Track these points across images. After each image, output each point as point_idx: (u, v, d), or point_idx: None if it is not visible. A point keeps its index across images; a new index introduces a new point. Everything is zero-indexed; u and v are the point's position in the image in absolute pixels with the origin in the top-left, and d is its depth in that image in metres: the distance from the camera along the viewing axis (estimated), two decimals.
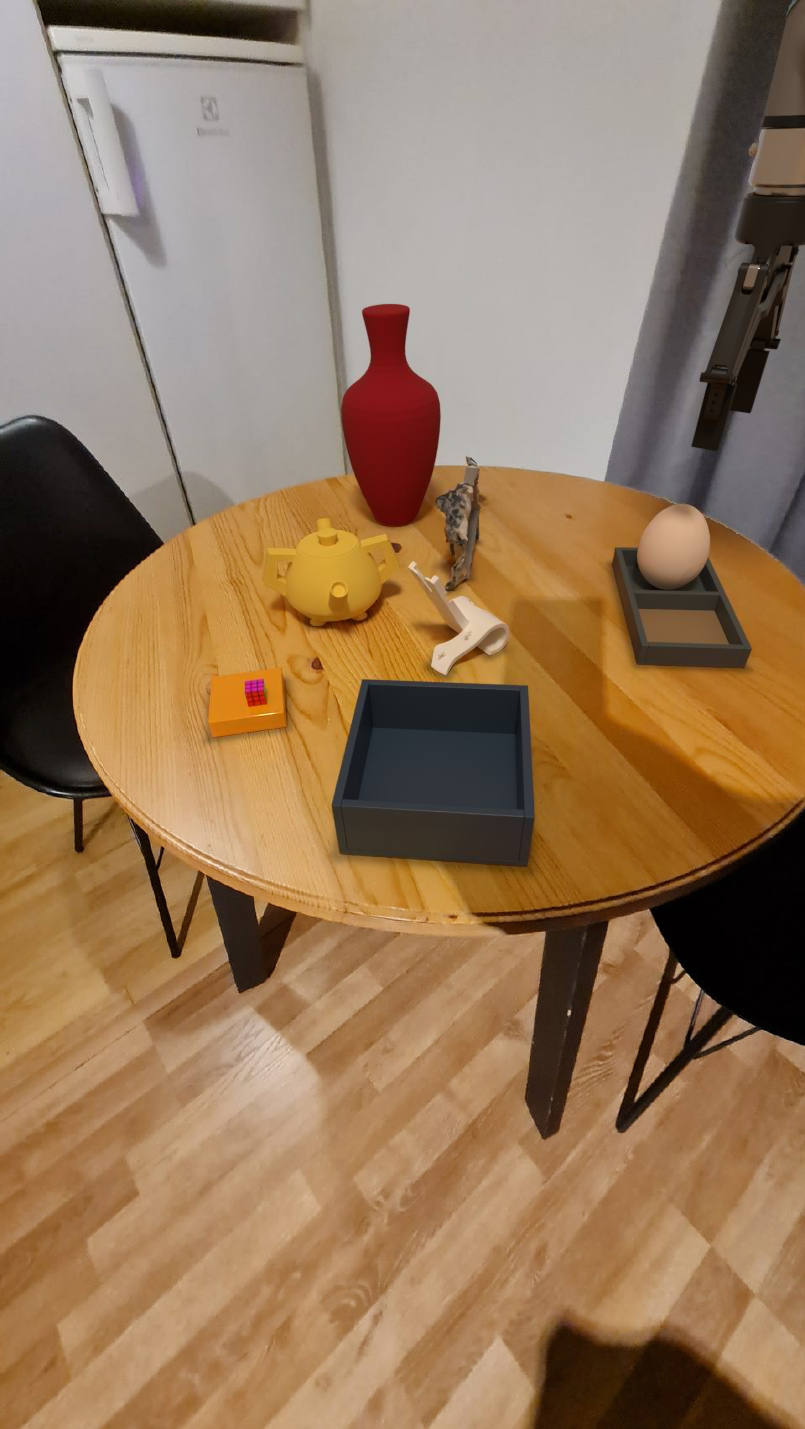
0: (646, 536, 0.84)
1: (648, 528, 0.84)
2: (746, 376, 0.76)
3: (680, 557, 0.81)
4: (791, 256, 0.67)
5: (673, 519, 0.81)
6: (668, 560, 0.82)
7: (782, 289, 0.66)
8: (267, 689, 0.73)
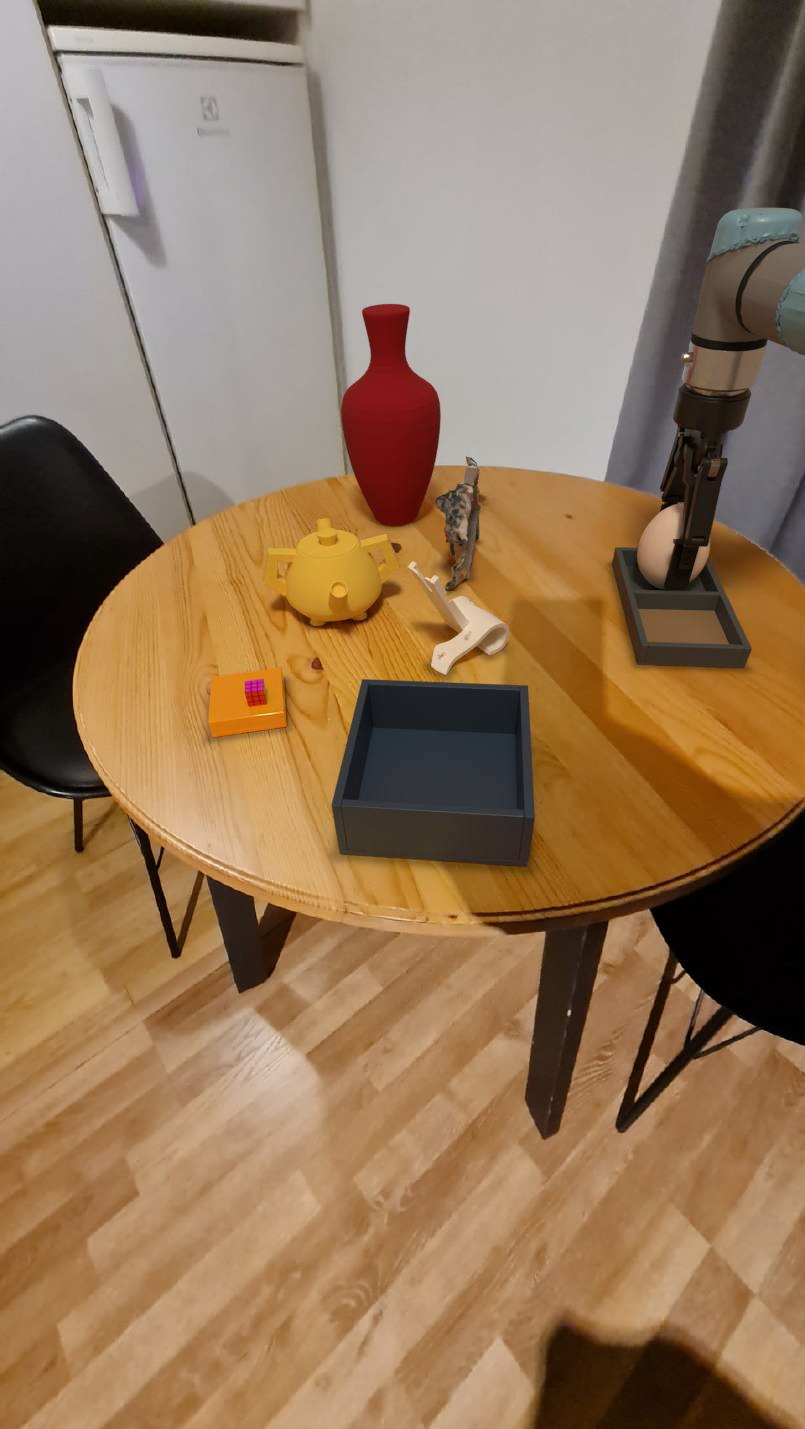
0: (646, 536, 0.84)
1: (648, 528, 0.84)
2: None
3: None
4: None
5: (673, 518, 0.81)
6: (668, 560, 0.82)
7: None
8: (267, 689, 0.73)
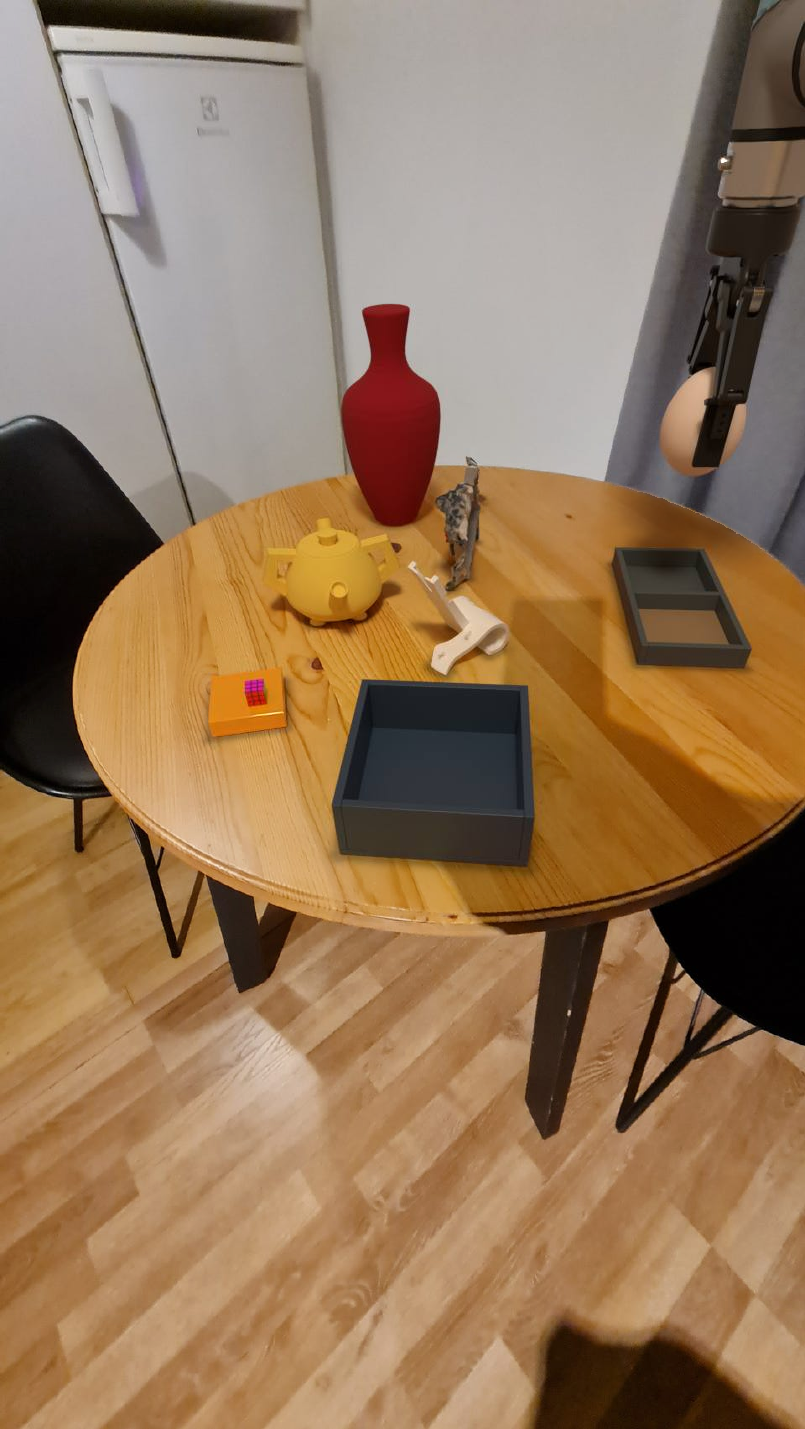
0: (671, 408, 0.72)
1: (673, 399, 0.72)
2: None
3: None
4: None
5: (704, 382, 0.69)
6: (698, 433, 0.70)
7: None
8: (267, 689, 0.73)
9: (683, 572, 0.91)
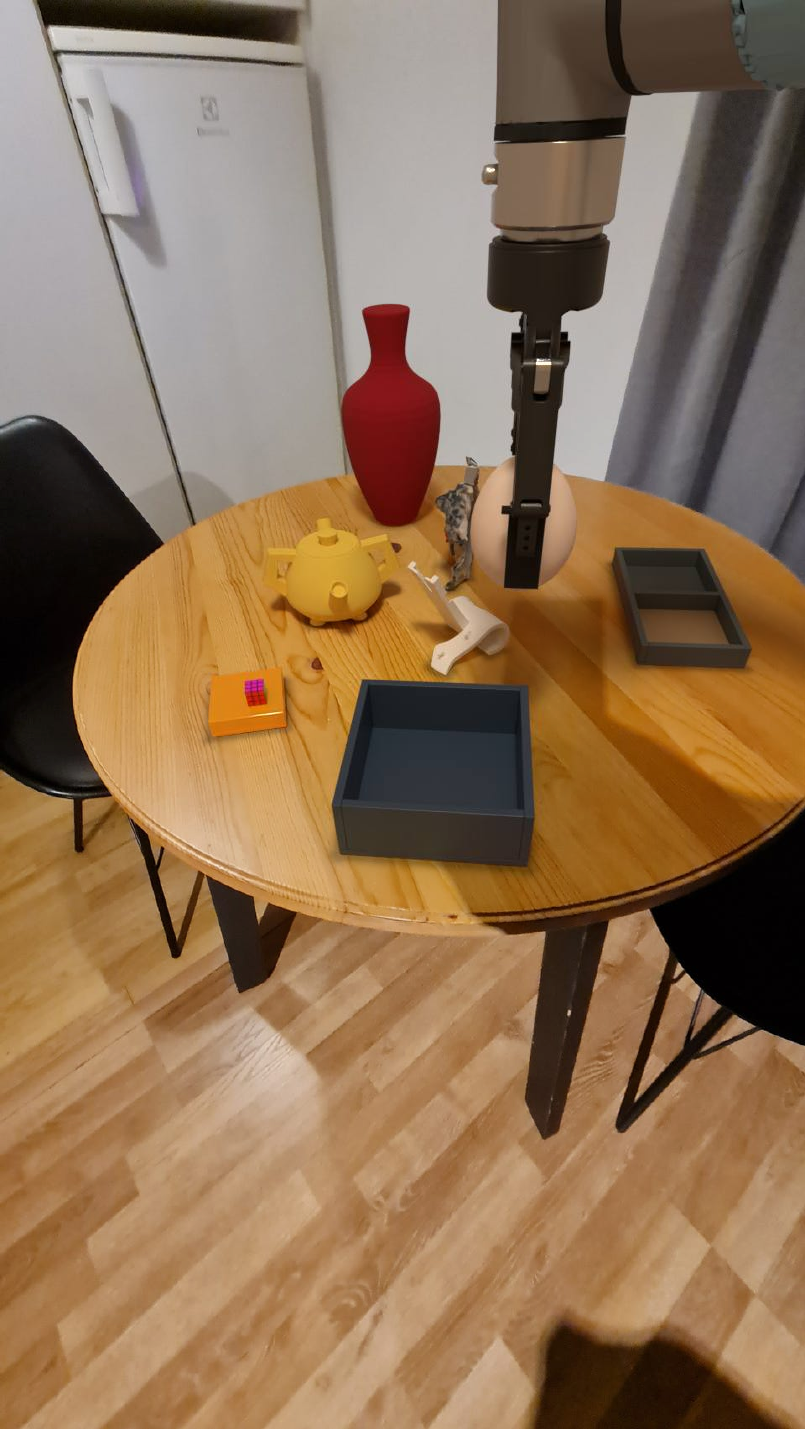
0: (475, 506, 0.53)
1: (480, 493, 0.53)
2: None
3: None
4: None
5: (510, 476, 0.50)
6: (505, 544, 0.51)
7: None
8: (267, 689, 0.73)
9: (683, 572, 0.91)
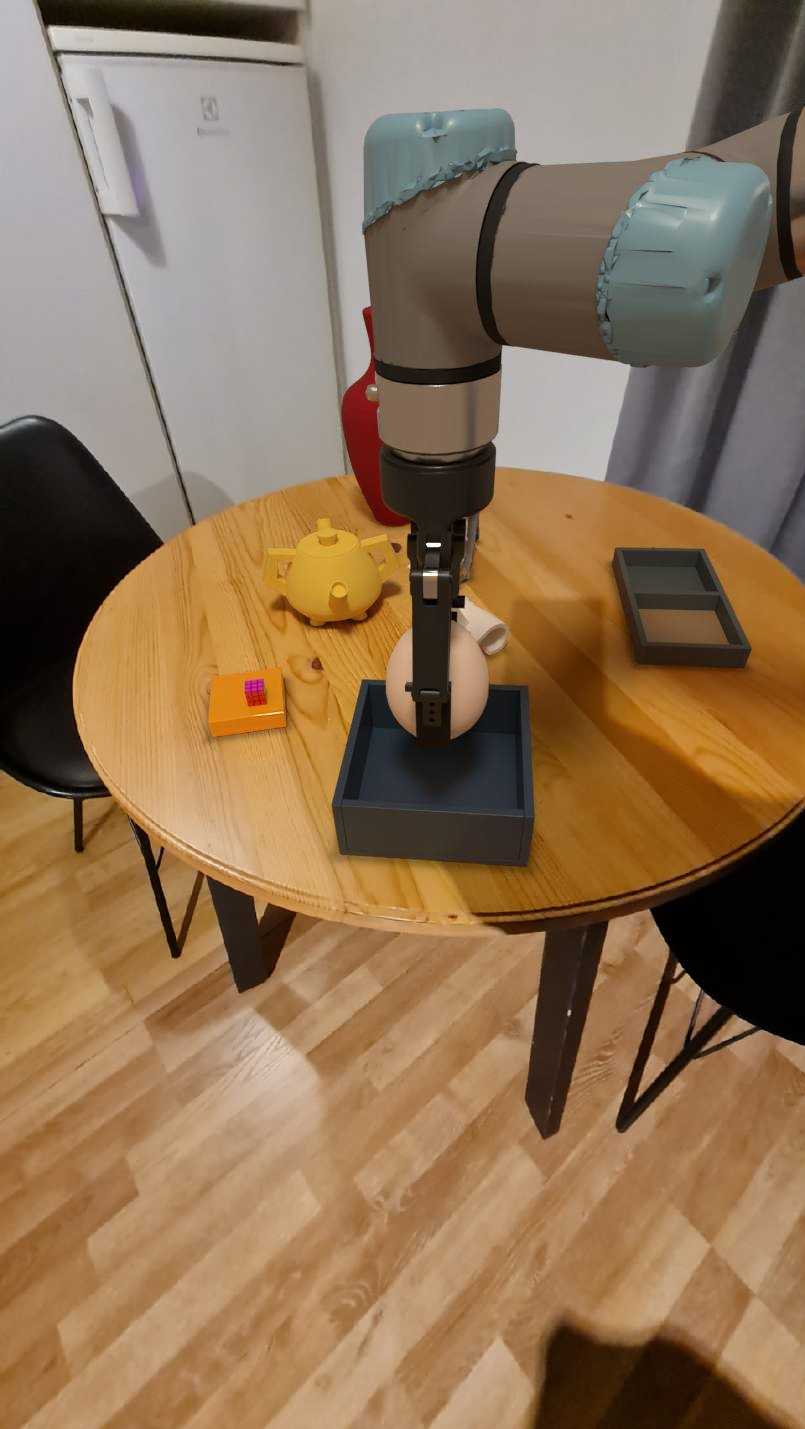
0: (388, 666, 0.53)
1: (392, 653, 0.53)
2: None
3: None
4: None
5: None
6: None
7: None
8: (267, 689, 0.73)
9: (683, 572, 0.91)
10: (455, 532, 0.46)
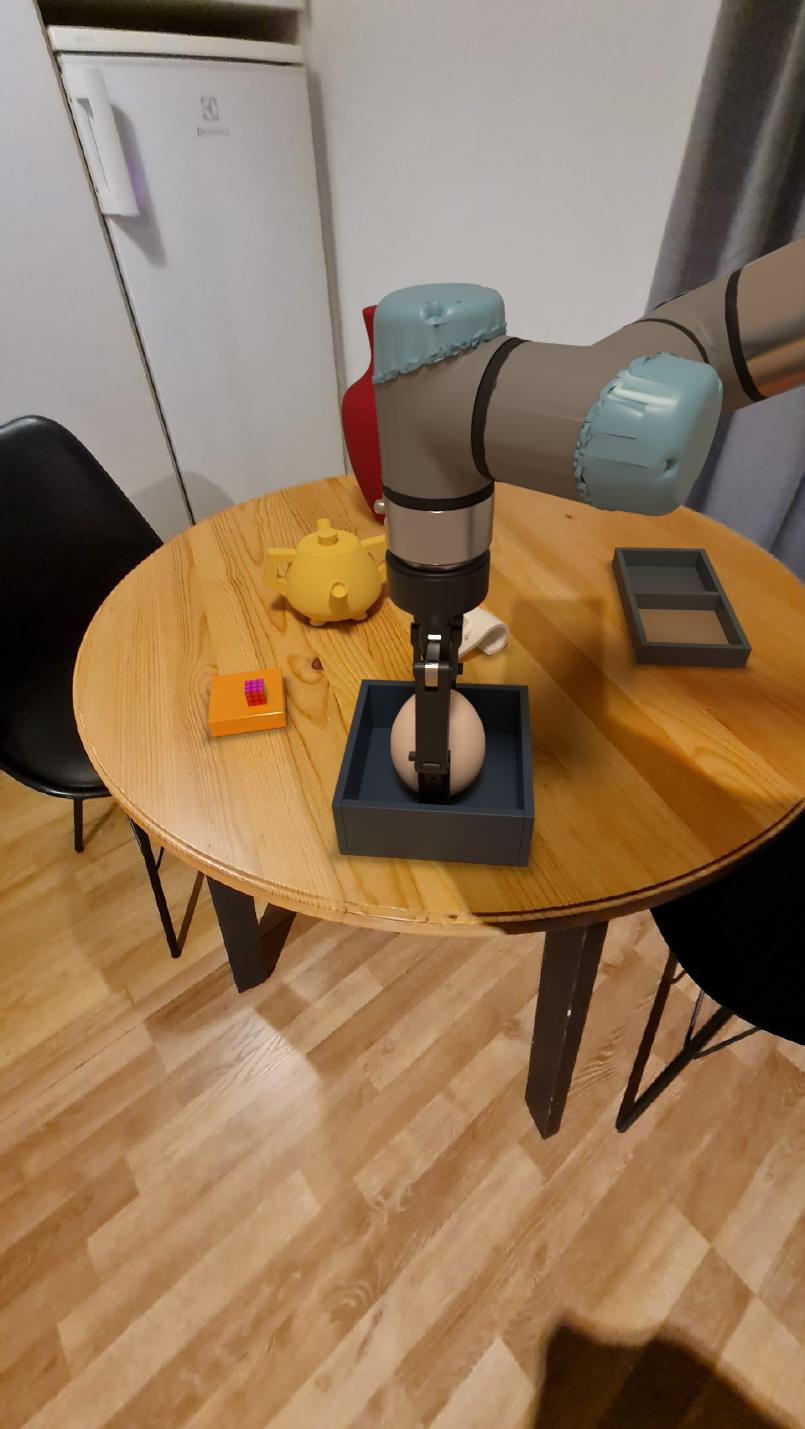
0: (393, 730, 0.58)
1: (396, 718, 0.58)
2: None
3: None
4: None
5: None
6: None
7: None
8: (267, 689, 0.73)
9: (683, 572, 0.91)
10: (454, 619, 0.51)
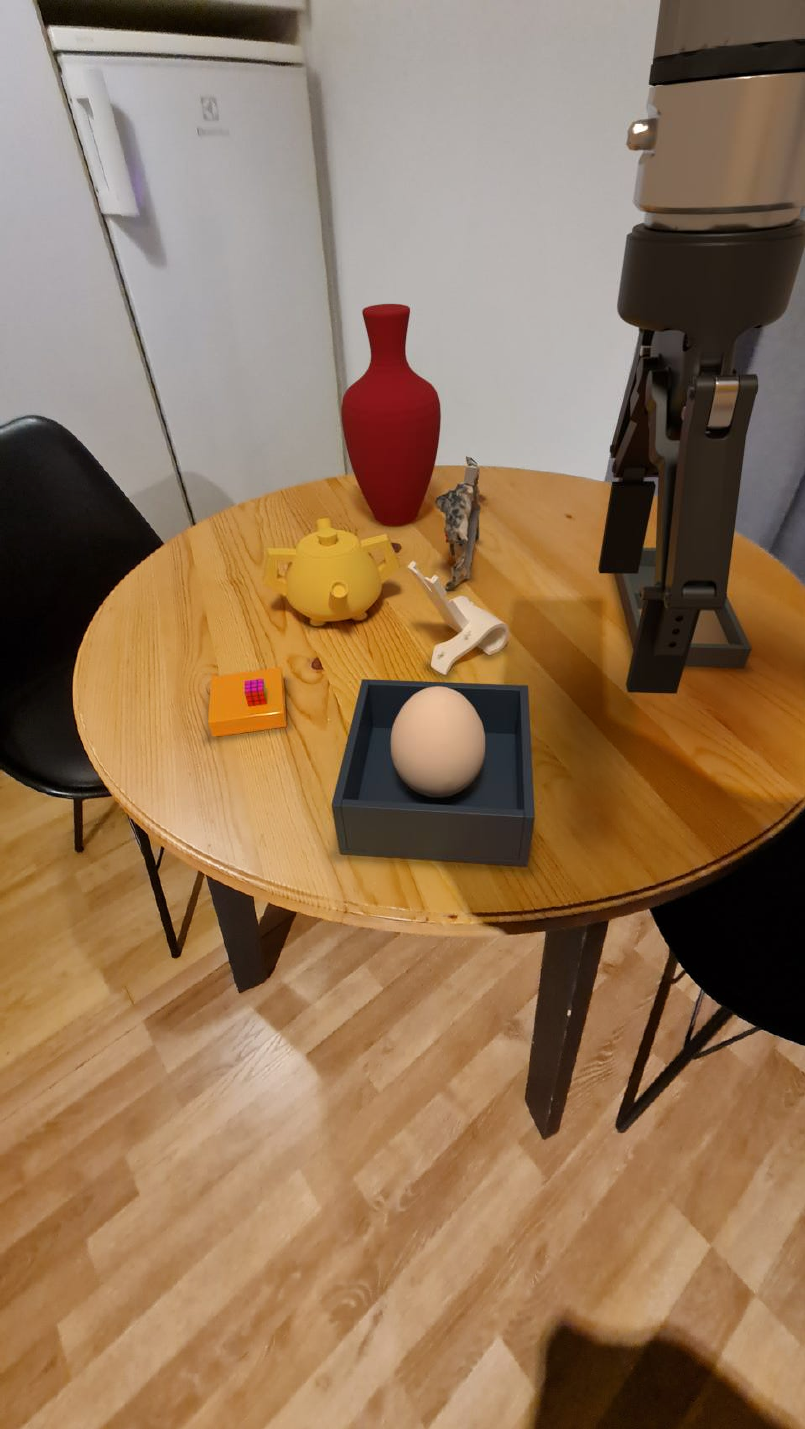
0: (393, 730, 0.58)
1: (396, 718, 0.58)
2: (625, 523, 0.45)
3: (433, 769, 0.56)
4: None
5: (419, 715, 0.55)
6: (418, 771, 0.56)
7: None
8: (267, 689, 0.73)
9: None
10: None
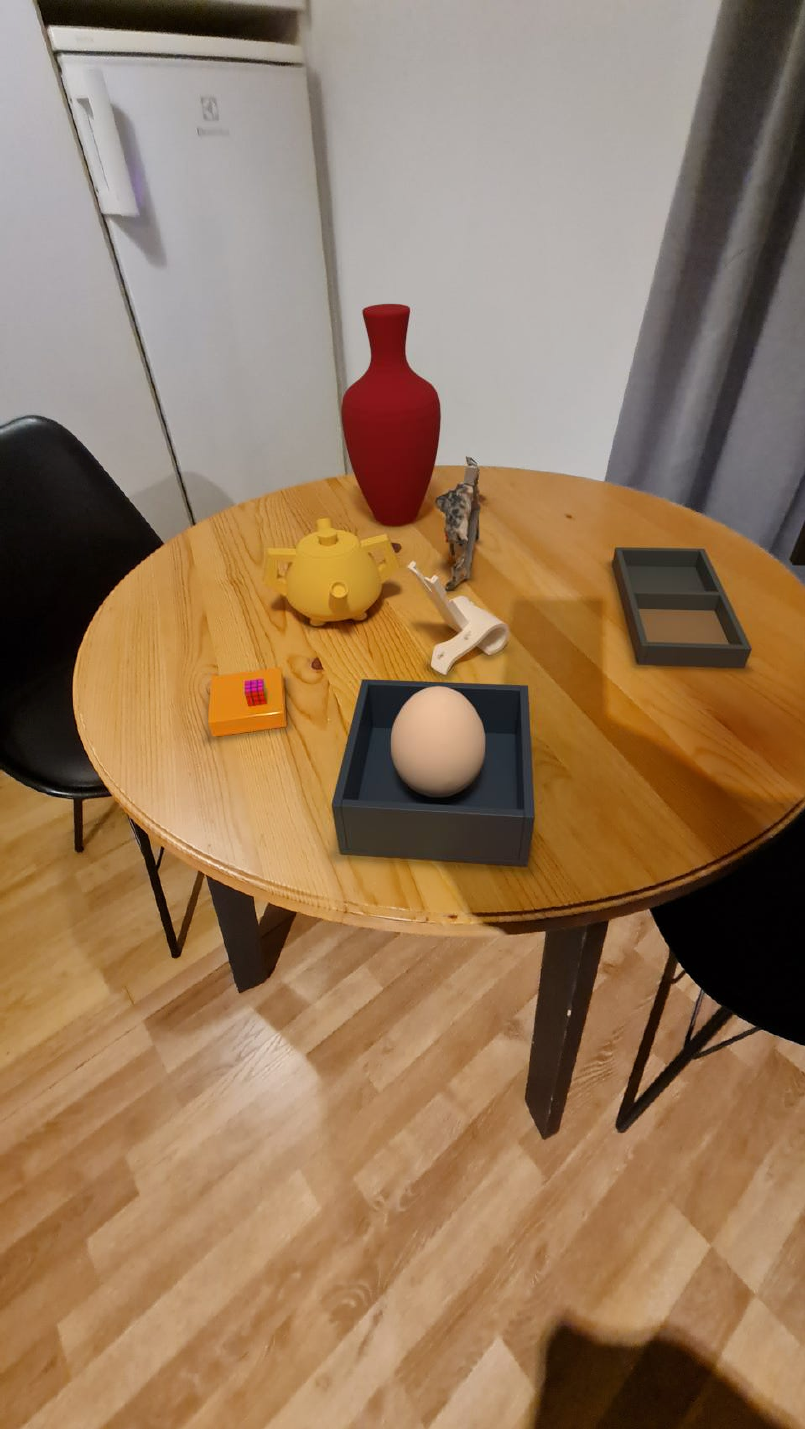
0: (393, 730, 0.58)
1: (397, 718, 0.58)
2: None
3: (433, 768, 0.56)
4: None
5: (420, 715, 0.55)
6: (418, 771, 0.56)
7: None
8: (267, 689, 0.73)
9: (683, 572, 0.91)
10: None
